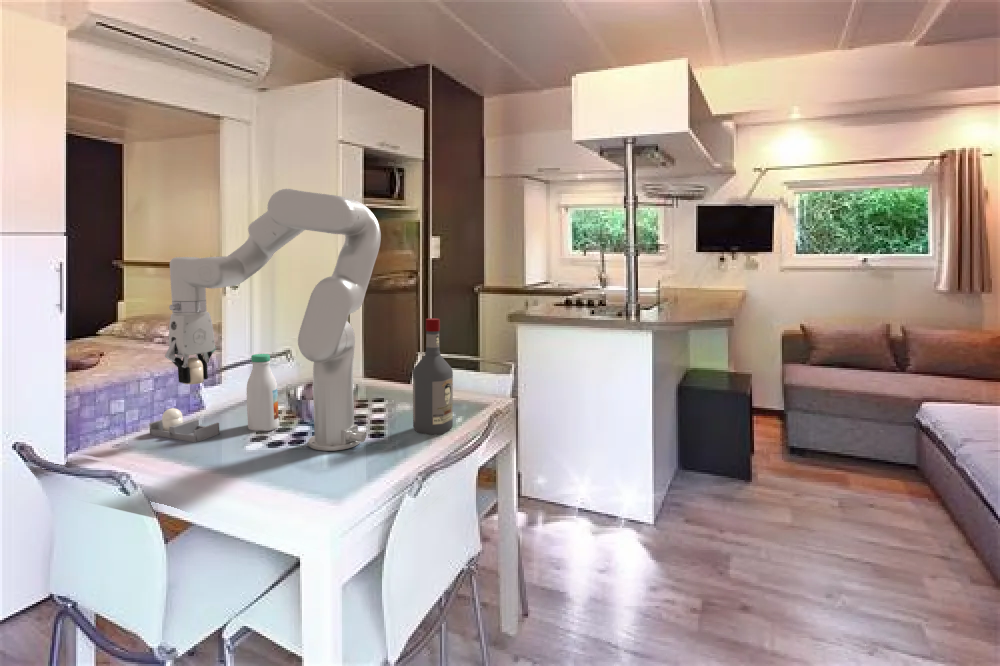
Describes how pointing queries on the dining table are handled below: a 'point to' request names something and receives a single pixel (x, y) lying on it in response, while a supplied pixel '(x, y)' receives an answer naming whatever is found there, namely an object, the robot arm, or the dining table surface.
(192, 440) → the egg carton
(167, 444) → the dining table surface
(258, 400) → the milk bottle
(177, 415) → the cream egg
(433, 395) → the liquor
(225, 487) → the dining table surface
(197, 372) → the tan egg
